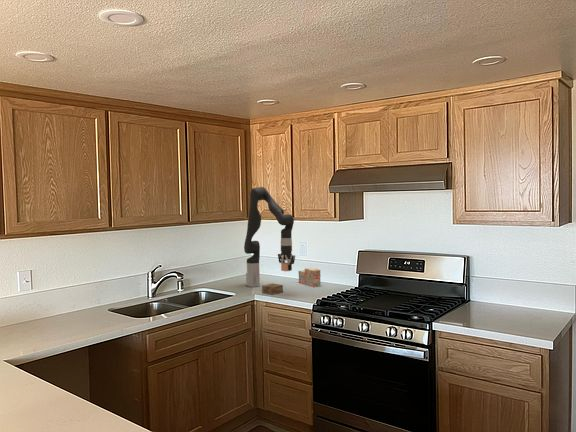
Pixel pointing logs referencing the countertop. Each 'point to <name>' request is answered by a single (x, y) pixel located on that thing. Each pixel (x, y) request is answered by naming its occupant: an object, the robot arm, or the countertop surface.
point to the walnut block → (272, 289)
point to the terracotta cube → (284, 266)
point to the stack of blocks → (310, 277)
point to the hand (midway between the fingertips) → (286, 269)
